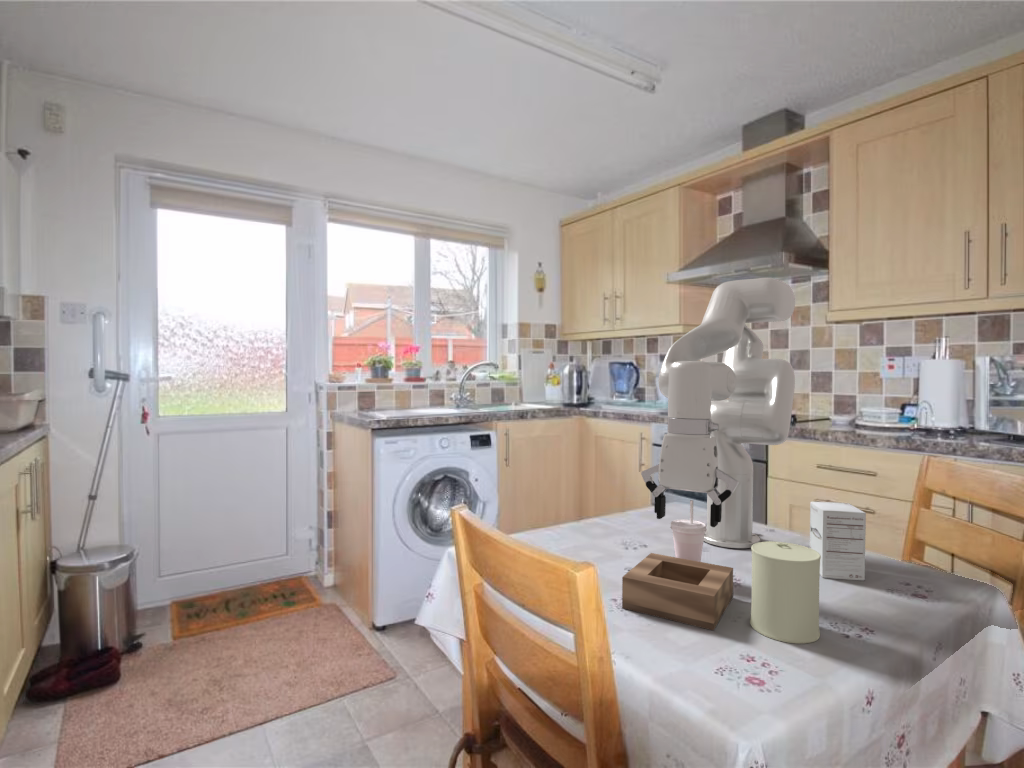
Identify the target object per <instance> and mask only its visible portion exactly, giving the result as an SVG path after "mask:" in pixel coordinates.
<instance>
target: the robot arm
mask: <svg viewBox="0 0 1024 768" xmlns="http://www.w3.org/2000/svg"><path fill="white" fill-rule="evenodd" d="M711 294H712V295H711V297H710V300H709V302H708V305H707V308H706V311H705V312H704V315H703V318H702V321H701V323H700V325H698V326H696V327H694V328H692V329H691V330H690V331H688V332H687V333H684V335H682V336H681V337H680V338H678V339H677V340H676V341H675V342H674V343H673V344H672V345H671V346H670V347H669V348H668V350H667V352H666V354H665V357H664V359H663V361H662V364H661V366H660V370H659V374H658V380H657V381H658V383H657V385H658V388H659V391H660V393H661V394H662V395H663V397H665V398H667V402H668V403H667V433H664V434H663V438H662V443H661V446H660V447H661V448H660V453H659V464H656V465H653V466H652V467H649V468H647V469H644V470H642V471H641V472H640V474H641V477H642V479H643V481H644V483H645V486H646V488H647V489H648V490H649V491H650V493H651V495H652V496H653V497H654V508H653V509H654V510H653V512H654V513H655V514H656V519H657V520H661V519H663V518H664V517H666V500H667V499H666V498H667V497H666V495H665V492H666V491H667V490H668V489H670V490H677V491H687V492H694V493H706V497H707V498H706V501H707V502H706V503H707V504H706V530H707V531H706V532H705V533H704V541H703V542H705V543H708V544H710V545H713V546H716V547H720V548H728V549H751V547H752V545H753V544H755V543H758V542H761V538H760V536H758V535H757V534H755V533H753V527H754V526H753V522H754V521H753V520H754V518H753V516H754V511H753V510H754V509H753V507H754V506H753V504H754V503H753V502H754V462H753V460H752V457H751V456H750V454H749V453H748V451H747V450H746V449H745V447H744V446H743V444H750V445H751V444H752V445H763V446H778V445H781V444H784V442H785V441H786V440H787V439H788V436H789V434H790V428H791V420H792V412H793V404H794V395H795V389H796V387H795V386H796V377H795V371H794V367H793V366H792V364H791V363H790V362H789V361H787V360H785V359H783V358H782V359H781V358H763V352H764V343H763V342H762V340H761V338H760V337H759V336H758V335H757V334H756V333H755V332H754V331H753V330H752V329H751V328H750V327H748V326H747V325H746V324H752V323H753V324H754V323H775V322H776V323H777V322H785V321H787V320H789V319H790V318H791V316H792V315H793V313H794V311H795V307H796V298H795V292H794V291H793V288H792V287H791V286H790V285H789V284H788V283H786V282H784V281H782V280H780V279H777V278H773V277H759V278H745V279H736V280H735V279H734V280H728V281H724V282H722V283H720V284H719V285H717V286H716V287H715V289H714V290H713V292H712V293H711ZM721 353H723V354H722V358H721V359H722V360H721V362H719V361H701V360H702V359H706V358H708V357H712V356H715V355H718V354H721ZM656 473H658V475H657V478H658V479H657V480H658V483H659V485H657V484H656V483H655V481H654V480H653V478H652V476H653V475H654V474H656Z"/></svg>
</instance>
